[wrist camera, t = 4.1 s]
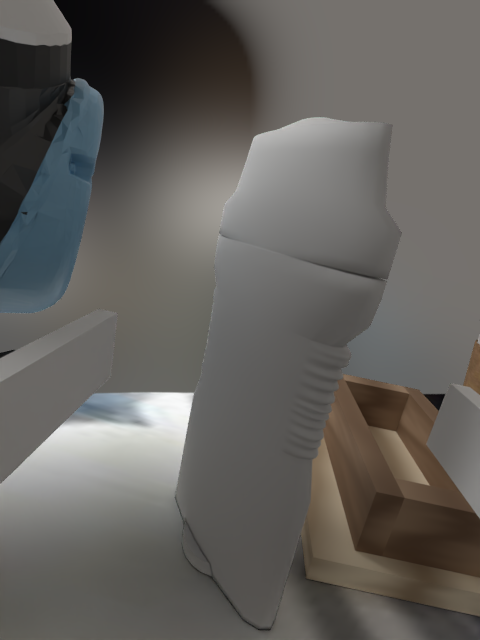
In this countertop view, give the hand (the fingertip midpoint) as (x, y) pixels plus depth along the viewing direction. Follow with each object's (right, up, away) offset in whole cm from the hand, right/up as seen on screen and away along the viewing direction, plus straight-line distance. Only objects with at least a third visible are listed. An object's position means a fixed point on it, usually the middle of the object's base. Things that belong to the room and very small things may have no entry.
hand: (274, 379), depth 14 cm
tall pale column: (-3, -11, +6) cm, 13 cm away
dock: (+10, -11, +14) cm, 20 cm away
